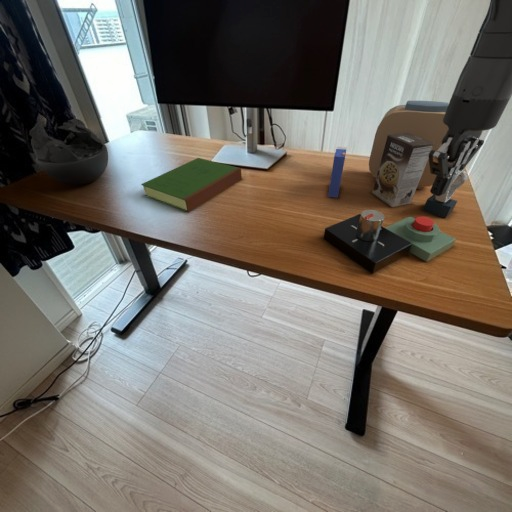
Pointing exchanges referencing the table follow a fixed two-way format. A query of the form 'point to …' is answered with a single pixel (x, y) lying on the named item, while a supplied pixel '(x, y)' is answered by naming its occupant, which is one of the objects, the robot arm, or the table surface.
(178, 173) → the hardcover book
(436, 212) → the watch
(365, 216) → the knob
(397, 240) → the dial panel
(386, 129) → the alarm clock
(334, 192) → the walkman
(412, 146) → the coffee box
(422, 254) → the button base
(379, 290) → the table surface
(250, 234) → the table surface
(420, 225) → the button
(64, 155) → the gray filled bowl
